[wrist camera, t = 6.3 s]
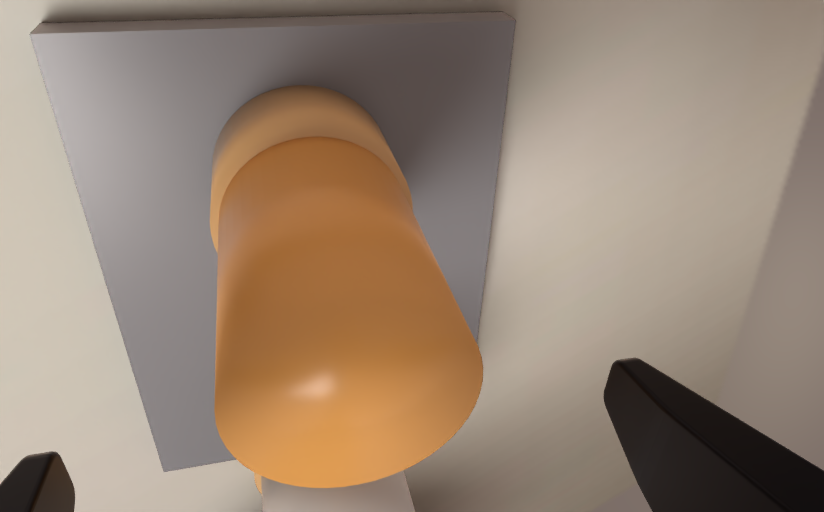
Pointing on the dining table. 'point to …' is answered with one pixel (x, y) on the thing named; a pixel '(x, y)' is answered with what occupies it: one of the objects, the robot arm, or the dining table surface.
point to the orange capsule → (333, 322)
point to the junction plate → (164, 163)
